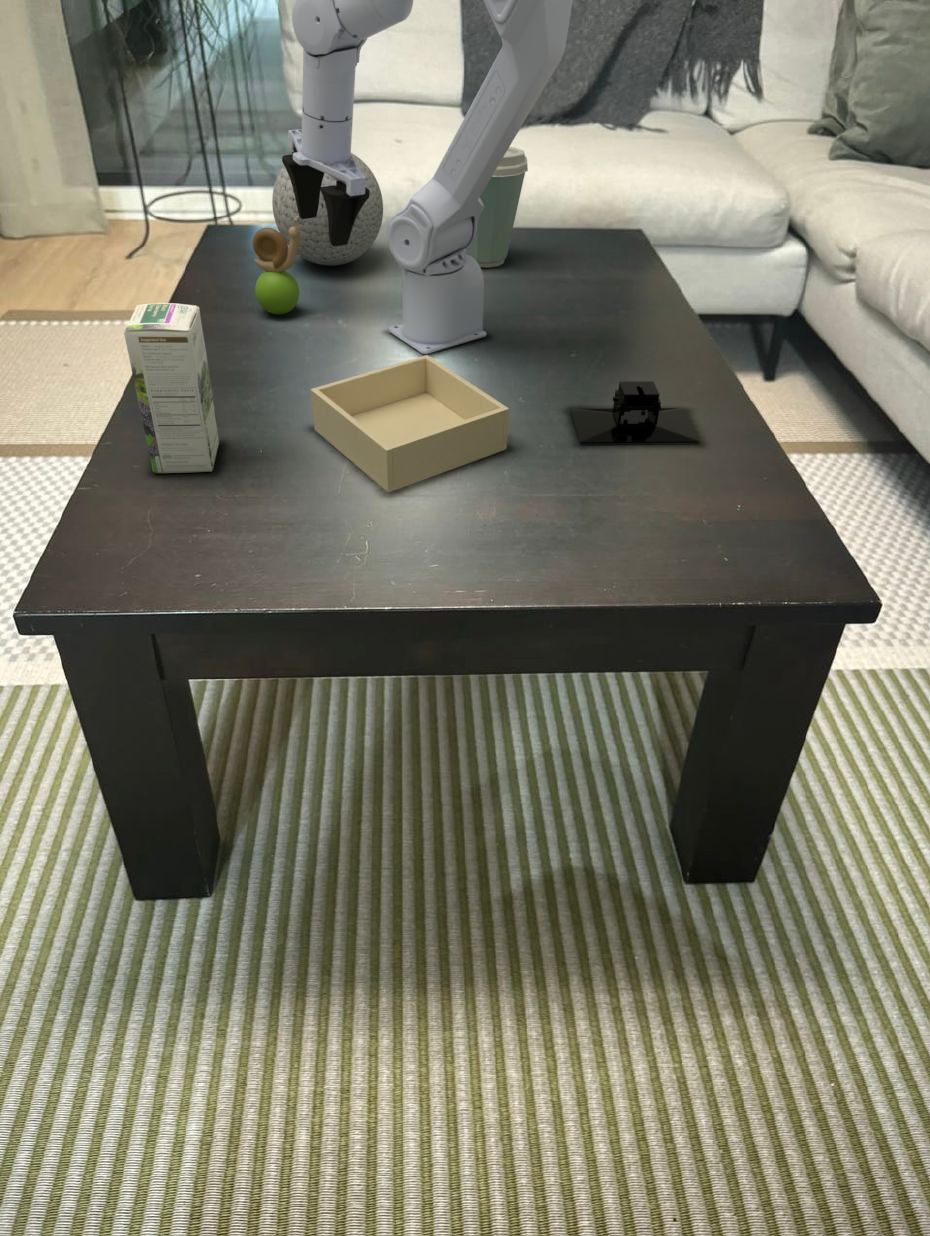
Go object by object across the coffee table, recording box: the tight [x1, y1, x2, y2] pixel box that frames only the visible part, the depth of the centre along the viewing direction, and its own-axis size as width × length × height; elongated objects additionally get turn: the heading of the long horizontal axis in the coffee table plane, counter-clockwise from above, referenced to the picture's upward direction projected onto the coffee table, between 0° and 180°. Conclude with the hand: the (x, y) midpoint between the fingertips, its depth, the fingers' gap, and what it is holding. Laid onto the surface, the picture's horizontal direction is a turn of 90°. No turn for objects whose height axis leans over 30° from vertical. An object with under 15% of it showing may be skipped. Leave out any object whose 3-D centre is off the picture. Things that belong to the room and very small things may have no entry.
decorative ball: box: [271, 152, 384, 267], centre depth 125 cm, size 15×15×15 cm
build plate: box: [569, 380, 700, 446], centre depth 95 cm, size 12×7×5 cm, turn 93°
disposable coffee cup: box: [466, 146, 529, 268], centre depth 127 cm, size 11×11×15 cm
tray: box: [310, 354, 510, 493], centre depth 92 cm, size 14×14×5 cm
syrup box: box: [123, 302, 220, 474], centre depth 85 cm, size 6×6×14 cm
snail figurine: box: [252, 216, 300, 315], centre depth 112 cm, size 5×6×12 cm
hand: (323, 230), depth 113 cm, fingers open, 7 cm apart
